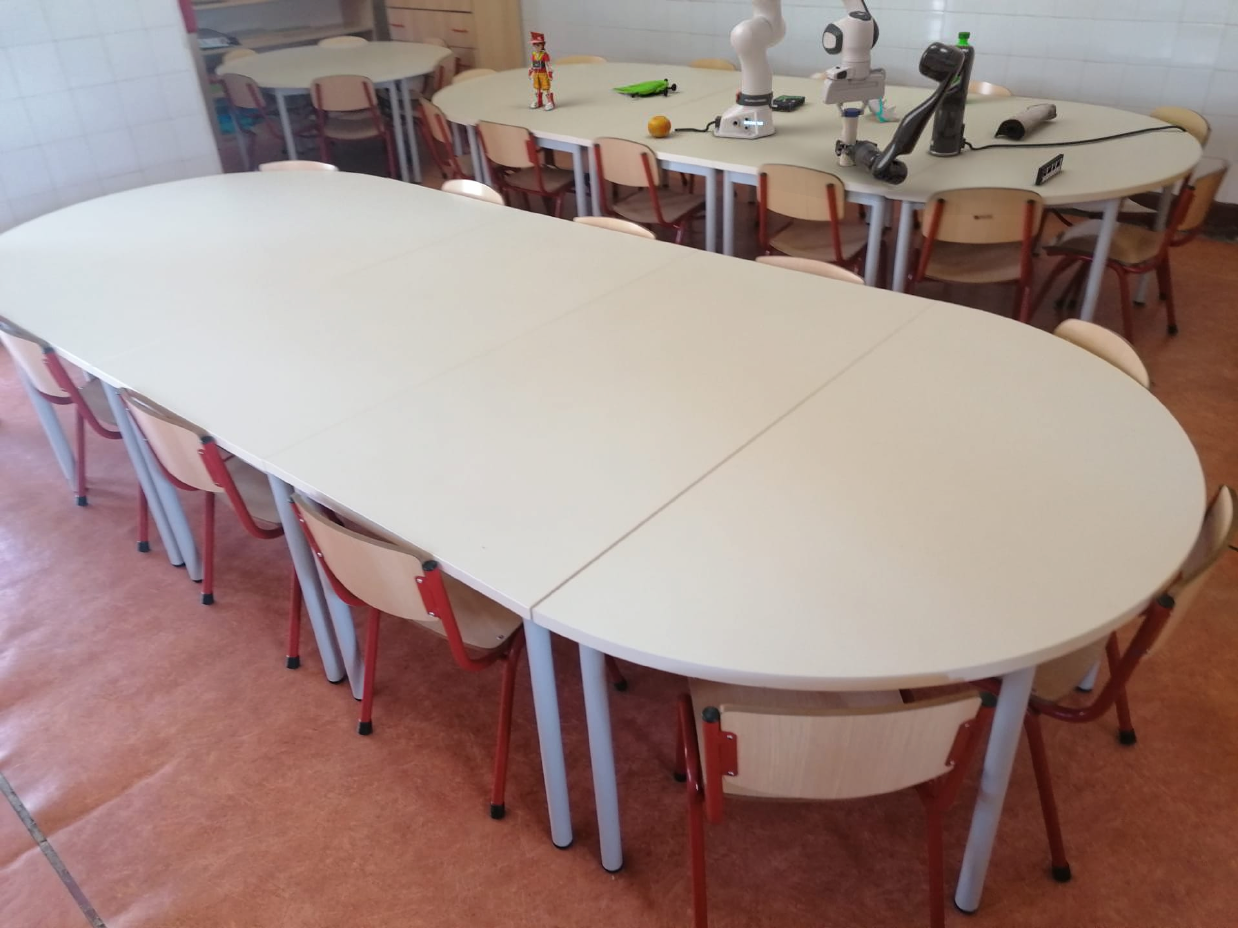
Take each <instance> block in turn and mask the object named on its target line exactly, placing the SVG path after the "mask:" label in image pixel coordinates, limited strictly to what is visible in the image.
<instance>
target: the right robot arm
mask: <svg viewBox="0 0 1238 928" xmlns="http://www.w3.org/2000/svg"><path fill="white" fill-rule="evenodd" d="M974 55H975V56H976V51H975V48H974V46H973V45H971V46H967V45H956V44H944V43H943V42H939V41H935V42H932V43H931V44H929V45H928V46H927V47H926V48H925V50H924V51H923V53H922V55H921V57H920V59H919V63H918V72H919V73H920V75H921V76H923V77H925V78H927V79H929V80H931V81H933V82H936V83H938V86H937V88H936V89H935V91H933V93H931V95H930V96H929V97H927V98H926V99H925V100H924V101H923V102H922V103H920V104H919V105H917V106H916V107H914V108H912V109H911V110H910V111H909V112H908V113H907V114H905V115H904V117H903V118H902V119H901V121H900V122H899V124H898V126H897V128H896V130H895V132H894V134H893V136H892V139H891V140H890V142H889V143H888V144H887V145H886V147H885V148H884V149H883V150H881V149H880V148H879V147H878V143H876V142H873V141H870V140H867V139H865V140H863V139H862V140H861V139H860V140H859V139H858V138H857V139H856V144H854V143H853V144H852V143H848V142H847V143H843V142H842V139H837V140H836V141H835V146H834V147H835V148H834V153H835V155H836V157H840V156H841V155H842V154H846V155H847V156H850V158H851V160H852V162H853V163H854V165H856V166H857V167H859V168H860V169H862V170H863V171H866V172H868V173H869V174H871V177H872V179H874V180H875V181H878V182H881V183H885V184H888V185H892V186H899V185H901V184H902V183H904V182H905V181H906V179H907V177H908V174H909V170H908V165H907V164H906V163H905V162H904V161H903V160H900V159H898V157H900V156H909V155H911V154H912V153H913V151H914V149H915V148H916V146H917V144H918V142H919V140H920V138H921V136H922V134H923V133H924V130H925V128H926V126H927V125H928V123H929V121H930V120H931V118H932V117H933V121H932V122H933V123H932V129H931V136H930V139H929V144H930V145H929V149H928V153H929V154H931V156H932V155H933V156H936V157H953V156H956V155H959V154H962V150H964V149H965V148H966V145H967V146H968V148H969V150H971V151H981V150H982V151H983V150H986V149H989V148H1035V147H1037V148H1038V147H1039V148H1040V147H1058V146H1070V145H1078V144H1079V145H1080V144H1087V143H1094V142H1099V141H1105V140H1106V141H1107V140H1110V139H1115V138H1121V137H1126V136H1130V135H1131V136H1132V135H1136V134H1142V133H1145V132H1153V131H1154V132H1155V131H1163V130H1168V129H1177V130H1180V131H1182V132H1184V133H1187V132H1188V131H1187V130H1186V128H1184V127H1183V126H1181V125H1177V124H1176V125H1175V124H1174V125H1165V126H1159V127H1149V128H1144V129H1138V130H1133V131H1128V132H1123V133H1119V134H1113V135H1108V136H1103V137H1097V138H1091V139H1084V140H1083V139H1082V140H1075V141H1074V140H1073V141H1066V142H1048V143H1014V144H1012V143H996V144H986V145H984V146H980V147H973V145H972V143H971V142H969V141H967V138H966V137H964V135H965V129H966V124H965V122H964V117H965V113H966V112H965V111H966V106H967V105H966V104H967V99H968V95H967V93H968V94H969V86H970V81H971V76H972V70H973V66H974V62H975V58H974ZM956 77H960V79H959V81H957V82H956V83H954V84H953V82H954V80H955V79H956ZM933 115H934V116H933ZM843 148H844V149H843Z"/></svg>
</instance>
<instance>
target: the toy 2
mask: <svg viewBox="0 0 1238 928" xmlns="http://www.w3.org/2000/svg"><path fill="white" fill-rule="evenodd" d="M669 85H670V83H669V79H668V78H664V79H663V80H649V81H644V82H640V83H634V84H629V85H627V86H621V87H613V88H612V89H613V90H616V91H619V92H623V93H627V94H628V93H629V94H631V95H630V96H631V98H632V99H634V98H636V96H637V95H650V94H652V93H654V94H658V93H662V95H663V96H665V97H667V96H668V95H669V90H671V91H672V92H676V91H677V84H676V83H672V84H671V86H669Z"/></svg>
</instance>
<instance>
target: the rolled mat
mask: <svg viewBox="0 0 1238 928" xmlns="http://www.w3.org/2000/svg"><path fill="white" fill-rule="evenodd" d="M1057 116H1058V114H1057V106H1056V104H1055V103H1039V104H1033V105H1030V106H1028V107H1027V108H1026V109H1025V110H1023V111H1021V112H1019V113H1017V114H1015V115H1013V116H1011V117H1009V118H1007V119H1005V120H1003V121H1002V122H1001V123H1000V124H999V126H998V128H997V130H996V132H995V133H994V136H993V137H994V138H998V137H999V136H1004V137H1005V138H1006V137H1007V139H1008V140H1015V141H1021V140H1023V138H1025V137H1026V136H1027V135H1028V134H1029V133H1030V132H1031V131H1032V130H1033V129H1034V128H1036V127H1037V126H1038V125H1039V124H1041V123H1042V122H1044V121H1045V122H1046V121H1051V120H1054V119H1055V118H1057Z"/></svg>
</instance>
